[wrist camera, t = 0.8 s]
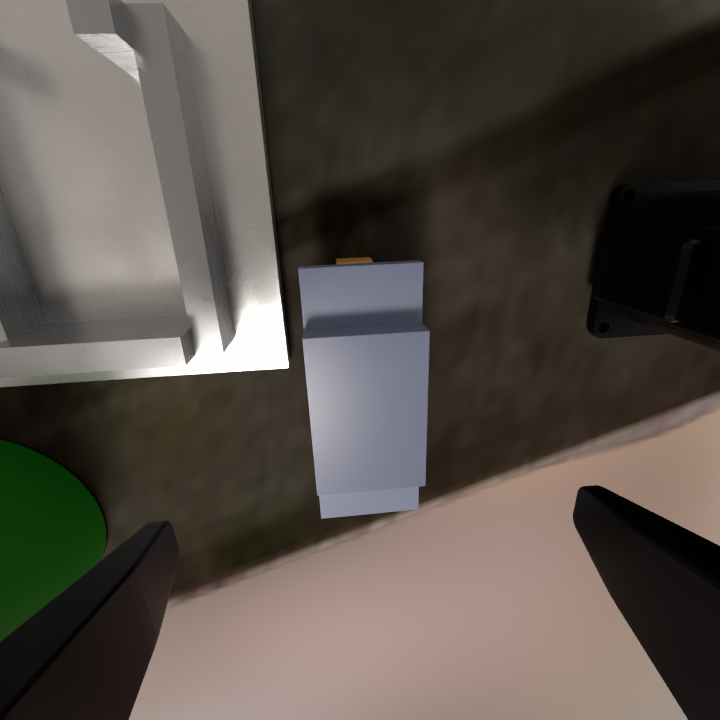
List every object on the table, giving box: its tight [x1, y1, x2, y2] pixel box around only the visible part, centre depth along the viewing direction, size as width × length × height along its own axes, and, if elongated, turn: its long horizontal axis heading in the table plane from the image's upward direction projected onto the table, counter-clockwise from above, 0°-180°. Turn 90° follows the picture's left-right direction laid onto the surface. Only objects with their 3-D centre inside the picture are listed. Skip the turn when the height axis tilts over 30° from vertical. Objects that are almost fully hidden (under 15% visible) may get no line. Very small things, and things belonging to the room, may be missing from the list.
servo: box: [298, 257, 430, 519], centre depth 16 cm, size 4×10×5 cm, turn 2°
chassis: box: [0, 0, 290, 387], centre depth 13 cm, size 12×13×4 cm
